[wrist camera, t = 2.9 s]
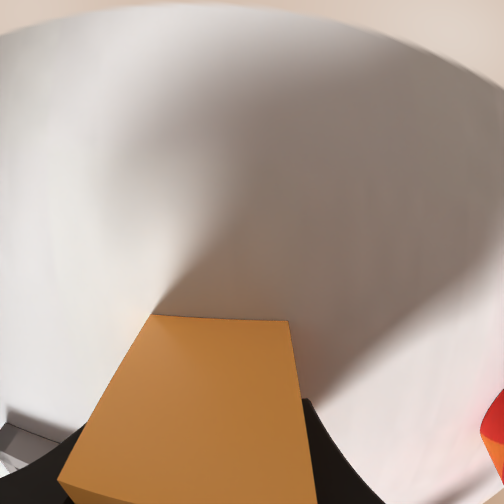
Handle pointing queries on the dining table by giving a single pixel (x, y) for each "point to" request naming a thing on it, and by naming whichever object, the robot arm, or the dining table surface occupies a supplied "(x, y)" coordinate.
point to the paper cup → (495, 433)
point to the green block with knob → (21, 447)
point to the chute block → (197, 420)
